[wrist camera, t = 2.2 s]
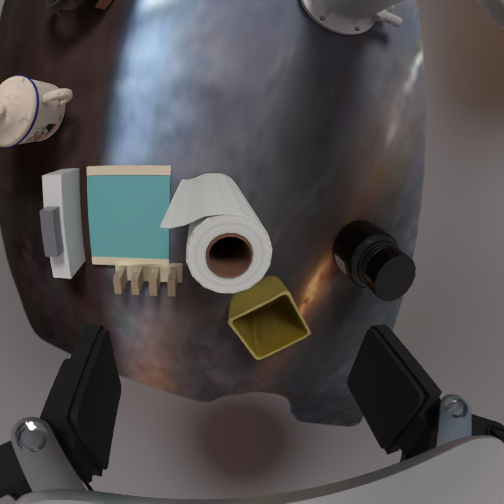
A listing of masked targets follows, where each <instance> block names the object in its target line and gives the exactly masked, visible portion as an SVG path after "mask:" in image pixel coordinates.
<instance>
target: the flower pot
mask: <svg viewBox="0 0 504 504" xmlns="http://www.w3.org/2000/svg"><path fill="white" fill-rule="evenodd" d="M228 324H229V325H230V326H231V328H232V329H233V330H234V332H235V333H236V334H237V335H238V337H239V338H240V339H241V341H242V342H243V343H244V345H245V346H246V347H247V349H248V350H249V351H250V353H251V354H252V355H253V357H254V358H255V359H256V360H260V359H263V358H265V357H267V356H270V355H272V354H274V353H276V352H278V351H280V350H282V349H284V348H286V347H288V346H290V345H292V344H294V343H296V342H298V341H300V340H302V339H304V338H305V337H307V336H308V335H310V334H311V332H310V329H309V328H308V326H307V324H306V322H305V320H304V319H303V317H302V315H301V313H300V311H299V310H298V308H297V306H296V304H295V302H294V300H293V298H292V296H291V294H290V293H289V291H288V290H287V288H286V287H285V286H284V284H283V283H282V282H281V280H280V279H279V278H278V277H276V276H267V277H264V278H262V279H261V280H260V281H258V282H257V283H256V284H254V285H253V286H252V287H250V288H249V289H246V290H243V291H240V292H237V293H236V294H235V295H234V296H233V297H232V299H231V301H230V305H229V315H228Z"/></svg>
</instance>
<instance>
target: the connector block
mask: <svg viewBox="0 0 504 504" xmlns="http://www.w3.org/2000/svg"><path fill="white" fill-rule="evenodd" d="M42 185H43V202H44V209H42V210H40V219H41V228H42V236H43V243H44V250H45V256H46V257H50V260H51V266H52V272H53V277H55V278H69V279H71V278H72V277H73V276H74V274H75V273H76V272H77V271H78V269H79V268H80V267H81V265H82V264H83V263H84V262H85V254H84V245H83V235H82V223H81V207H80V180H79V168H72V169H61V170H57V171H54V172H51V173H48V174H46V175H43V176H42Z"/></svg>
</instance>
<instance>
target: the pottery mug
mask: <svg viewBox="0 0 504 504" xmlns="http://www.w3.org/2000/svg"><path fill="white" fill-rule="evenodd" d="M111 2H112V0H99V1H98V2H97V4H96V5H95V7H96V8H101V9H106V8H107V7H108V6H109V4H110V3H111ZM46 6H47V8H48V9H50V8H51V9H53V12H54V13H55V14H57V15H58V16H60V17H63V14H62V13H61V9H62V10H73V9H75V8H76V7H77V4H76V3H74V0H46Z"/></svg>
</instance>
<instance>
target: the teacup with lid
mask: <svg viewBox="0 0 504 504" xmlns="http://www.w3.org/2000/svg"><path fill="white" fill-rule="evenodd" d="M71 99H72V91H71V90H70V89H59V88H58V87H56V86H55V85H52V84H49V83H44V82H40V81H36V80H32V79H30V78H29V77H26V76H23V75H18V76H14V77H11V78H9V79H7V80H5V81H4V82H3V83H2V84H1V85H0V147H3V148H10V147H13V146H16V145H18V144H23V143H30V142H38V141H43V140H45V139H47V138H49V137H50V136H52V135H53V134H54V133H55V132H56V130H57V129H58V128H59V126H60V124H61V122H62V120H63V117H64V113H65V103H67V102H68V101H70V100H71Z"/></svg>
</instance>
